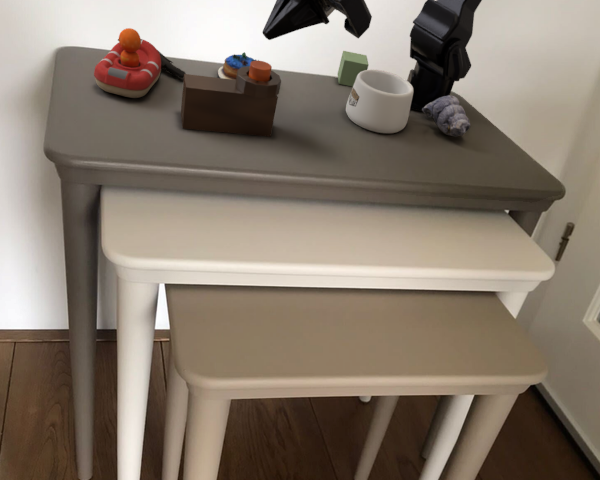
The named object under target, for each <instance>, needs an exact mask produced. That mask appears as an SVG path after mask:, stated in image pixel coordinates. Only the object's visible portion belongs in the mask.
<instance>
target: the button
mask: <svg viewBox="0 0 600 480" xmlns="http://www.w3.org/2000/svg"><path fill="white" fill-rule="evenodd" d="M271 70H273V69H272V65H271V64H270V63H268V62H266V61H264V60H259V61H258V60H257V61H252V62H251V63H250V69H249V77H250V78H251V79H254V80H257V81H264V82H266V81H269V80H270V75H271Z"/></svg>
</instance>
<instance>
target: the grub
mask: <svg viewBox="0 0 600 480" xmlns="http://www.w3.org/2000/svg"><path fill="white" fill-rule="evenodd" d="M421 112H423V113H424V115H425V116H426V117H427V118H433V121H434V123H435V125H437V128H438V129H439V130H440V131H441V132H442V133H443V134H445V135H447V136H451V137H459V136H462V137H463V136H464V134H466V133H467V132H468V131H469V130H470V128H471V123H470V119H469V118H468V116H467V115H466V111H465V109H464V107H463V105H460V100H459V99H458V97H456V96H455V95H448V96H444V97H441V98H438V99H437V100H435V101H433V102H430V103H429V104H427V105H426V106H425V107H424V108H422V111H421Z"/></svg>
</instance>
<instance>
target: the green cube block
mask: <svg viewBox="0 0 600 480" xmlns="http://www.w3.org/2000/svg"><path fill="white" fill-rule="evenodd" d="M364 70H369V59H368V56H367V54H362V53H358V52H353V51H347V50H343V51H342V53H341V58H340V61H339V66H338V70H337V81H338V84H339V85H342V86H343V85H344V86H347V87H351V88H353V86H354V83H355V80H356V78H357V75H358V74H359V73H360V72H362V71H364Z"/></svg>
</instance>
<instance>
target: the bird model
mask: <svg viewBox="0 0 600 480" xmlns="http://www.w3.org/2000/svg"><path fill="white" fill-rule="evenodd" d="M117 41H118V42H119V38H118V39H117ZM157 51H158V52H159V54H160V57H161V70H164V72H167V73H168V74H171V75H172V76H173V77H175V78H180V79H184V74H187V73H186V72H185V71H184V70H182V69H181V68H179V67H177V66H175V64H174V61H172V60H170V59H169V58H167V57H166V56H165V55H164V54H163V53H162V52H161V51H160V50H158V49H157Z"/></svg>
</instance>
